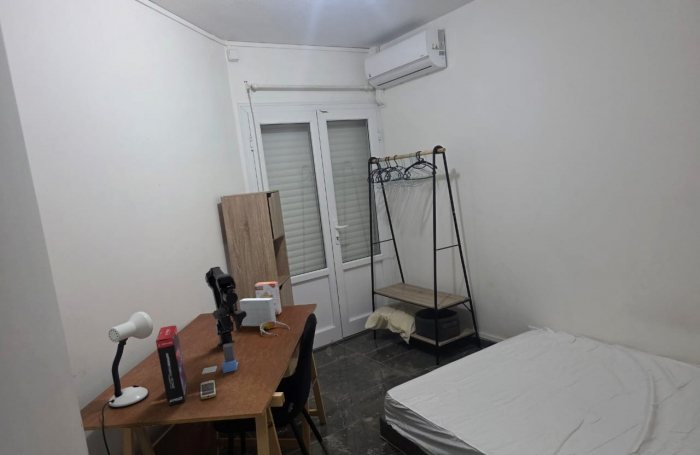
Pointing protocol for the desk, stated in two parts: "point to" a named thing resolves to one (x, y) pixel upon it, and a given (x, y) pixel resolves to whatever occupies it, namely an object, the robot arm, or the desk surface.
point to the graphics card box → (171, 364)
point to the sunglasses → (269, 326)
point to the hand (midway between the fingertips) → (231, 330)
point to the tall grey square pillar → (228, 352)
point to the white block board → (223, 367)
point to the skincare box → (257, 311)
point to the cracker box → (269, 293)
